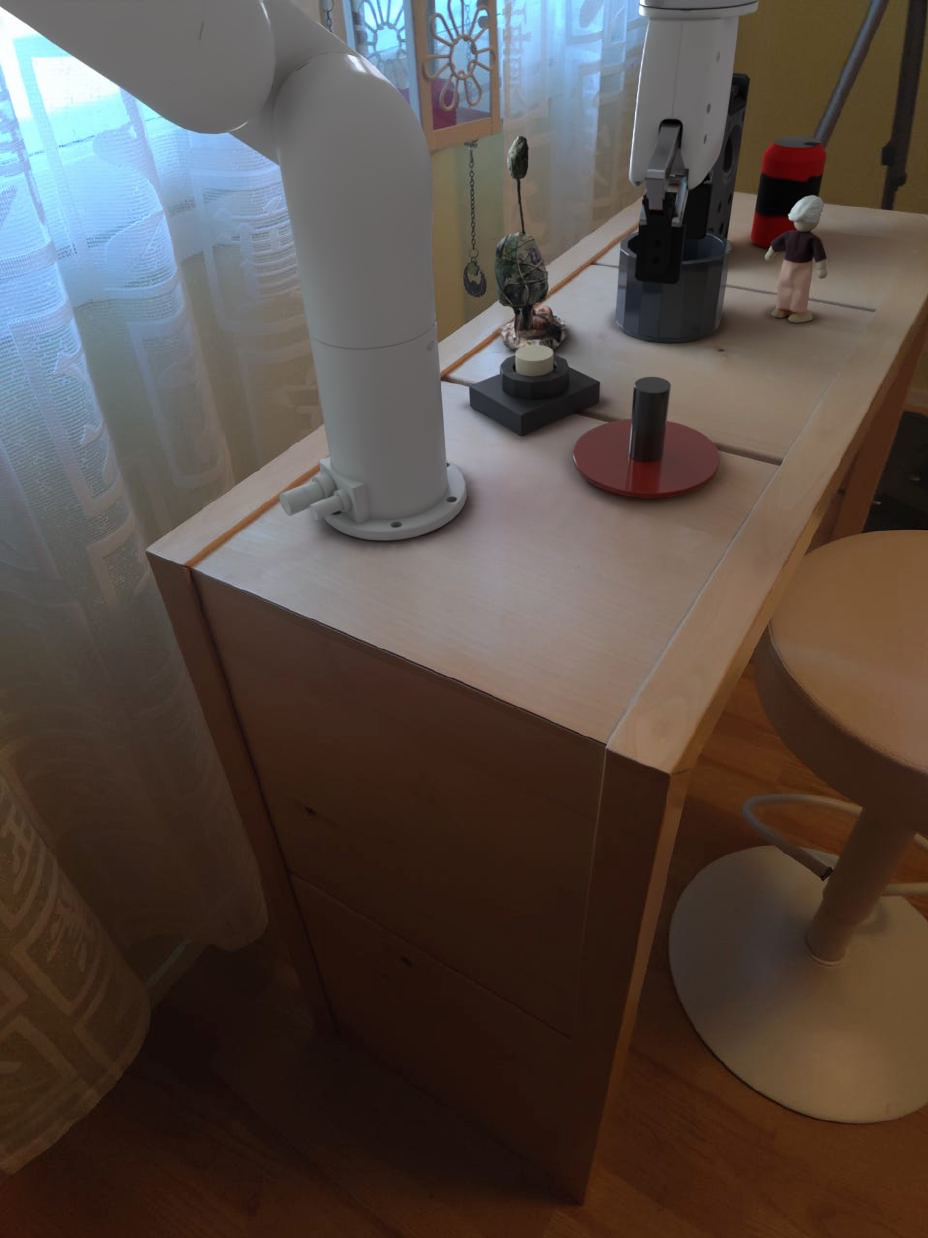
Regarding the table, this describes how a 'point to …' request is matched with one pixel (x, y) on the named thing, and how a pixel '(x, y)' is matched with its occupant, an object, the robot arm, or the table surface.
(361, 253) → the robot arm
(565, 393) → the control block
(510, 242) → the plant with pod
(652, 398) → the lid
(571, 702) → the table surface
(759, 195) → the soda can
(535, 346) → the button
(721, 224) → the electronic device
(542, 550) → the table surface
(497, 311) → the table surface
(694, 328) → the pot
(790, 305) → the grandmother figurine
